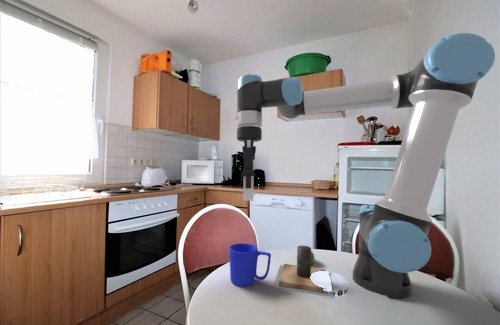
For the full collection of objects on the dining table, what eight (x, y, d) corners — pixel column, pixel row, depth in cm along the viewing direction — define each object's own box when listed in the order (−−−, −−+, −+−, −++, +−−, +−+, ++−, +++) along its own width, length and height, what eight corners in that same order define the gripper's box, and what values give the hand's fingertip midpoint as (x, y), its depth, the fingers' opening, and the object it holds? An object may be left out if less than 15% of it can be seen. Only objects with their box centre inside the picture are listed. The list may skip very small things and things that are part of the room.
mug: (268, 293, 60) (269, 255, 61) (224, 287, 63) (225, 250, 63) (271, 279, 68) (272, 245, 69) (232, 274, 71) (233, 242, 71)
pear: (300, 250, 79) (294, 246, 88) (300, 267, 77) (294, 260, 87) (316, 250, 79) (308, 246, 88) (317, 267, 78) (308, 261, 87)
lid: (325, 273, 73) (325, 243, 73) (327, 293, 60) (328, 258, 61) (284, 267, 76) (284, 239, 77) (278, 285, 64) (279, 252, 64)
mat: (329, 273, 74) (329, 271, 74) (334, 299, 58) (334, 297, 59) (280, 266, 78) (280, 265, 78) (272, 289, 63) (272, 287, 63)
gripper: (239, 134, 82) (239, 194, 81) (233, 117, 57) (232, 203, 56) (260, 134, 82) (260, 194, 81) (263, 117, 57) (263, 203, 56)
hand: (248, 198), depth 68 cm, fingers open, 13 cm apart
